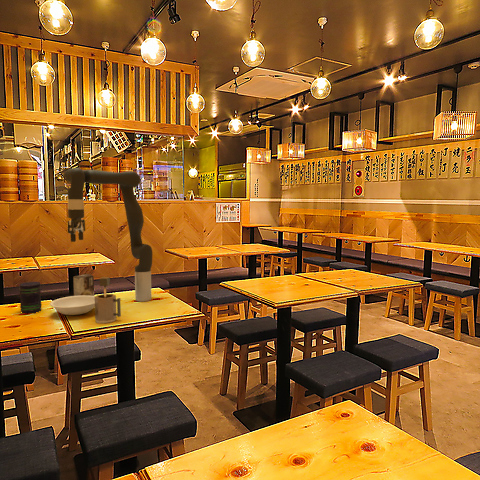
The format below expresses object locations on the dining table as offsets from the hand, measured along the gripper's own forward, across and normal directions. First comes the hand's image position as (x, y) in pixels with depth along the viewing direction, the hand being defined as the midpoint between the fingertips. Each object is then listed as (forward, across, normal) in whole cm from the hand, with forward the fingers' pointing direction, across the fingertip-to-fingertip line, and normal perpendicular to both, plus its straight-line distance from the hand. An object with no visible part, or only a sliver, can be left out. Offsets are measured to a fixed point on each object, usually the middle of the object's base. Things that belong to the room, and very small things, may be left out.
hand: (77, 240), depth 195 cm
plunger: (+35, +9, +17) cm, 40 cm away
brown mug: (+38, +9, +18) cm, 43 cm away
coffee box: (+38, -21, -7) cm, 44 cm away
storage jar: (+38, -4, -28) cm, 48 cm away
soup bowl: (+38, -2, -3) cm, 39 cm away
